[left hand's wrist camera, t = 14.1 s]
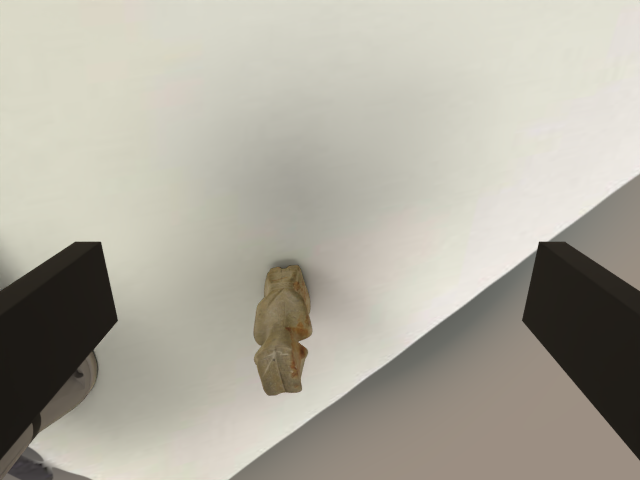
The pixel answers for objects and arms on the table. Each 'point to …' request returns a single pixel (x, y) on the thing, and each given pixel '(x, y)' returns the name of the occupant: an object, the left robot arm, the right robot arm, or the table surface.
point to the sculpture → (282, 330)
